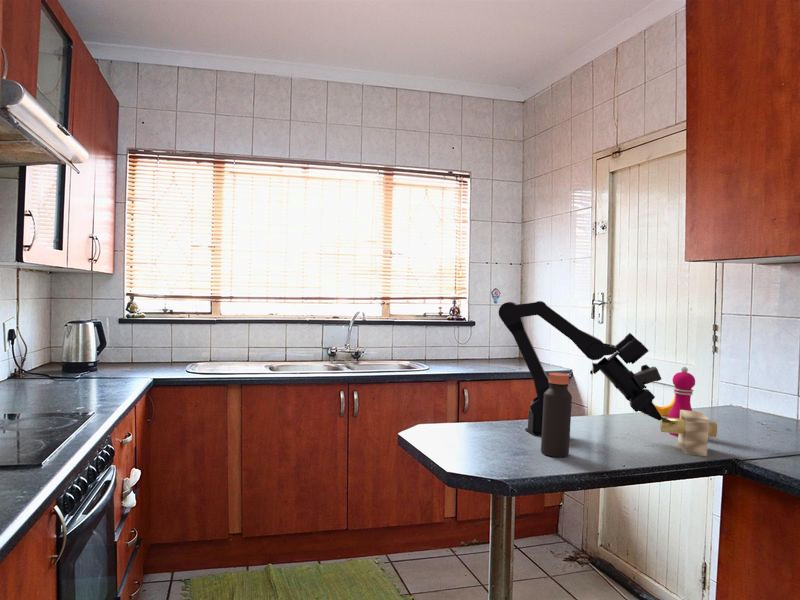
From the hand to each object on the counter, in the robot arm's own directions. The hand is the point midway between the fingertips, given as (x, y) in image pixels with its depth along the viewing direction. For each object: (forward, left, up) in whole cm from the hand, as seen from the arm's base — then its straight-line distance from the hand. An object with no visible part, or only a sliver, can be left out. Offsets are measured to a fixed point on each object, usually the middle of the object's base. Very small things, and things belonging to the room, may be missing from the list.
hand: (660, 419), depth 155 cm
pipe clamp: (+29, +35, -8) cm, 46 cm away
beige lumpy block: (+7, -4, -7) cm, 11 cm away
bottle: (-33, -3, -7) cm, 34 cm away
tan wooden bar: (+6, -3, -3) cm, 8 cm away
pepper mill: (+16, +11, -7) cm, 21 cm away
